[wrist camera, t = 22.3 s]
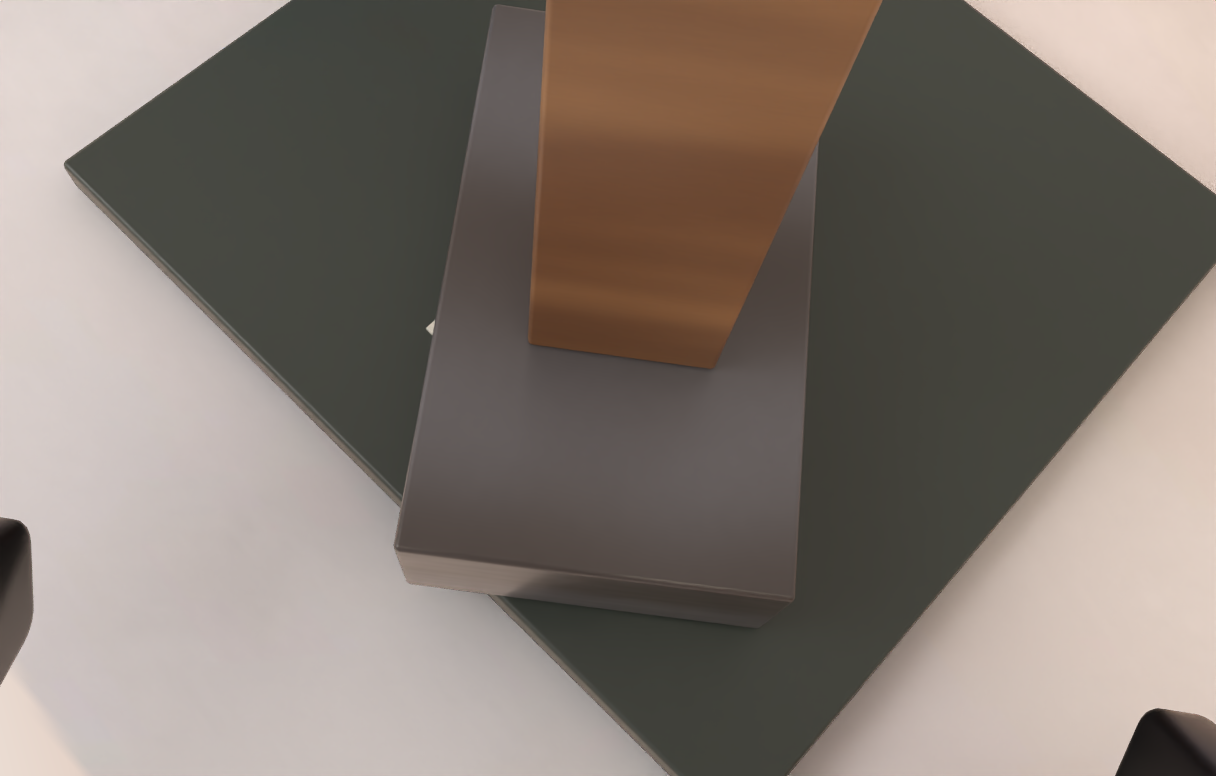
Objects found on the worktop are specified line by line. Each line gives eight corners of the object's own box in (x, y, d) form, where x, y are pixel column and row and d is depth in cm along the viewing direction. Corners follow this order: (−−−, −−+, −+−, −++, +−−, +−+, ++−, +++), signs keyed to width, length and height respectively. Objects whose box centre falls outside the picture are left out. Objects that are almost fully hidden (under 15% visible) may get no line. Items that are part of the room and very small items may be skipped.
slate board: (729, 835, 19) (739, 835, 18) (74, 184, 22) (58, 159, 21) (1229, 238, 24) (1255, 217, 23) (637, -222, 27) (641, -255, 27)
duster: (761, 630, 19) (1419, 113, 6) (405, 584, 19) (152, -75, 5) (792, 129, 23) (1235, -943, 9) (493, 86, 23) (483, -1081, 9)
